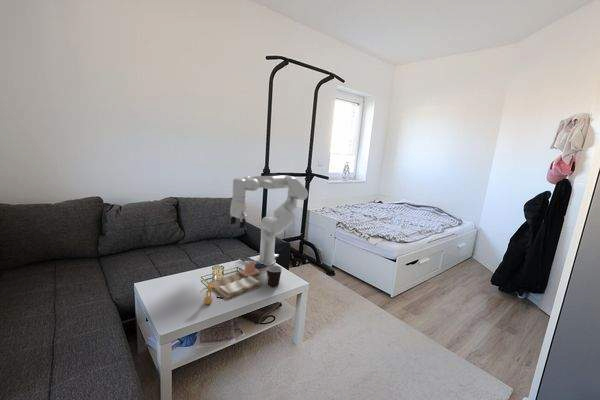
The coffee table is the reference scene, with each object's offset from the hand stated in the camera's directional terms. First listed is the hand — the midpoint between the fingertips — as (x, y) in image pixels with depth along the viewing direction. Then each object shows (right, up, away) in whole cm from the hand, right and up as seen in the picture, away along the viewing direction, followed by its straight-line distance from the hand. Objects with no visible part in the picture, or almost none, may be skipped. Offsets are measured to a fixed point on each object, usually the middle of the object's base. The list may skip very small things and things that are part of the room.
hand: (237, 225), depth 170 cm
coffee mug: (+23, -33, -9) cm, 41 cm away
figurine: (-6, -36, -35) cm, 50 cm away
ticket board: (+3, -32, -15) cm, 36 cm away
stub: (+8, -28, -2) cm, 30 cm away
